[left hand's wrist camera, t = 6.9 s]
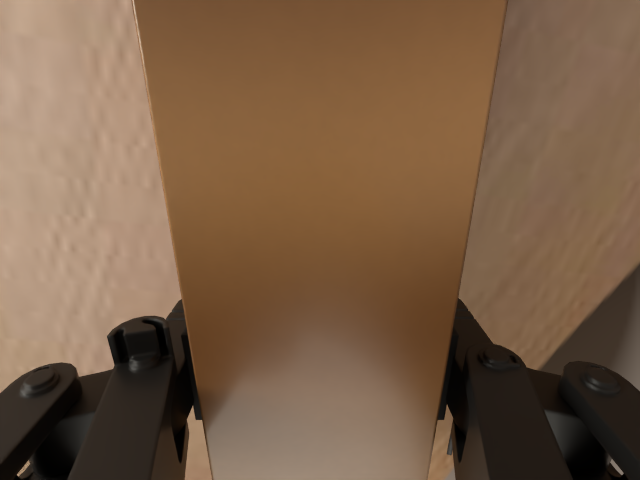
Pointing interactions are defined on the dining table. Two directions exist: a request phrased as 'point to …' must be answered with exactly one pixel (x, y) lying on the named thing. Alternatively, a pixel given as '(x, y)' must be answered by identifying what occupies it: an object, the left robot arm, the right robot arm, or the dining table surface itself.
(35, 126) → the dining table surface
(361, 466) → the bar
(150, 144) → the dining table surface
